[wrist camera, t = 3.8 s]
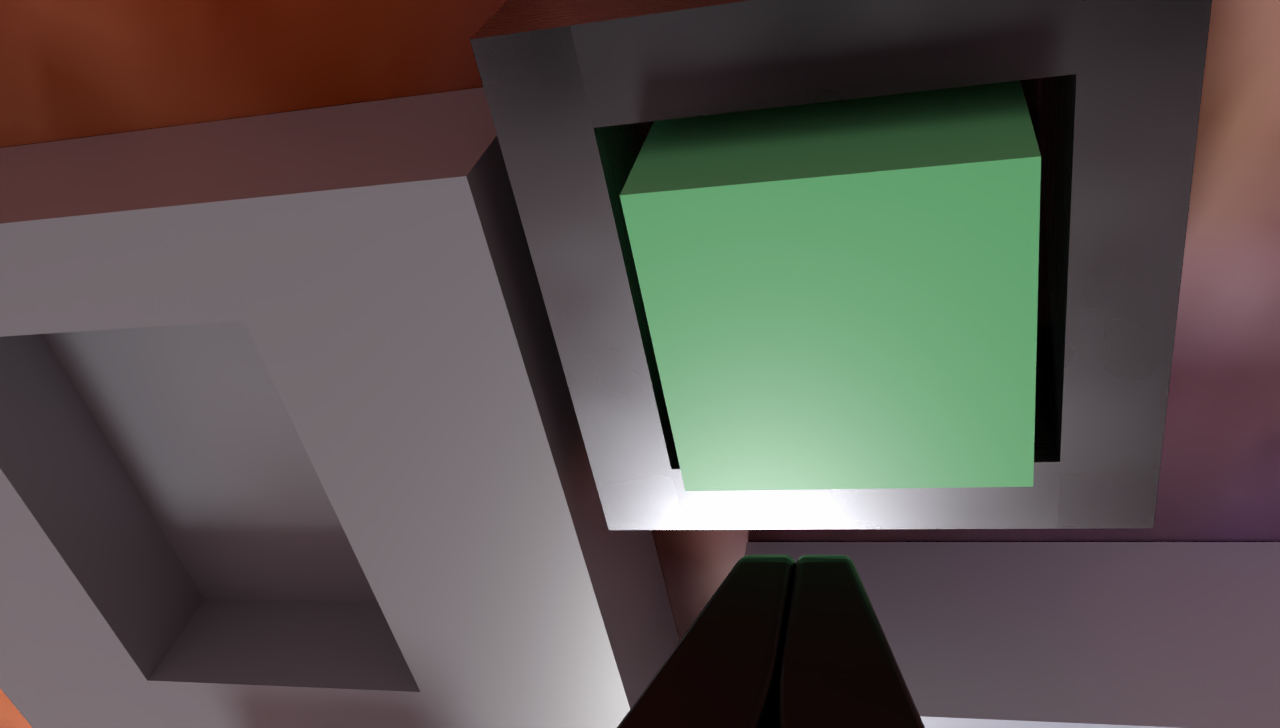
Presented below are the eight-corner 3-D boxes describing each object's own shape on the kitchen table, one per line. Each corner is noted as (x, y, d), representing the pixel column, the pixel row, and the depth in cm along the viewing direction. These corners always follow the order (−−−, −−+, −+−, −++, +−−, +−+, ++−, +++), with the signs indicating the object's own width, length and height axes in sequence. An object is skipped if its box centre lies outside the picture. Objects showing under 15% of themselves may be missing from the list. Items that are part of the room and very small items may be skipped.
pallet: (-182, 170, 18) (-351, 259, 15) (537, 80, 14) (466, 176, 12) (298, 878, 30) (246, 989, 27) (750, 922, 26) (736, 1054, 24)
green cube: (1007, 32, 12) (1040, 157, 9) (1006, 317, 14) (1034, 486, 12) (676, 72, 13) (619, 195, 11) (721, 332, 15) (685, 490, 13)
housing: (1150, -135, 11) (1219, -66, 9) (1112, 383, 15) (1153, 528, 13) (546, -39, 13) (470, 39, 11) (647, 401, 17) (609, 530, 15)
